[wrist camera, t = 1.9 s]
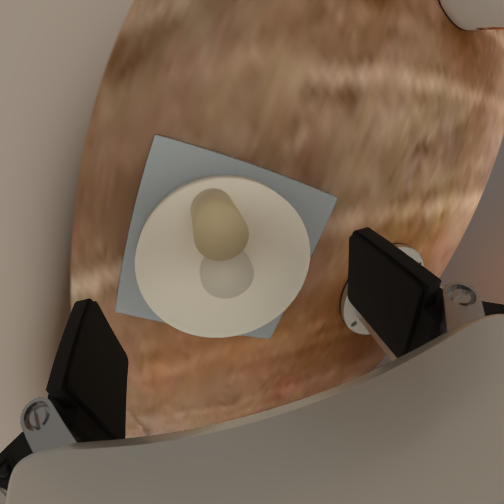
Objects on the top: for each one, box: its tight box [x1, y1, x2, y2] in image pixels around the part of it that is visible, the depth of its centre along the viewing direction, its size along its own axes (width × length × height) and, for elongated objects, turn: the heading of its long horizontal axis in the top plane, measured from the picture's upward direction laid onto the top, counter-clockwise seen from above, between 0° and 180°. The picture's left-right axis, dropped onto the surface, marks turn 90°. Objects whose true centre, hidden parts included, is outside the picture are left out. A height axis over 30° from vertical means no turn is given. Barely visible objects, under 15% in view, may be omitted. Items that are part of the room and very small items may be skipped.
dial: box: [135, 174, 310, 338], centre depth 21 cm, size 14×14×7 cm
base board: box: [115, 134, 338, 339], centre depth 25 cm, size 16×16×2 cm
